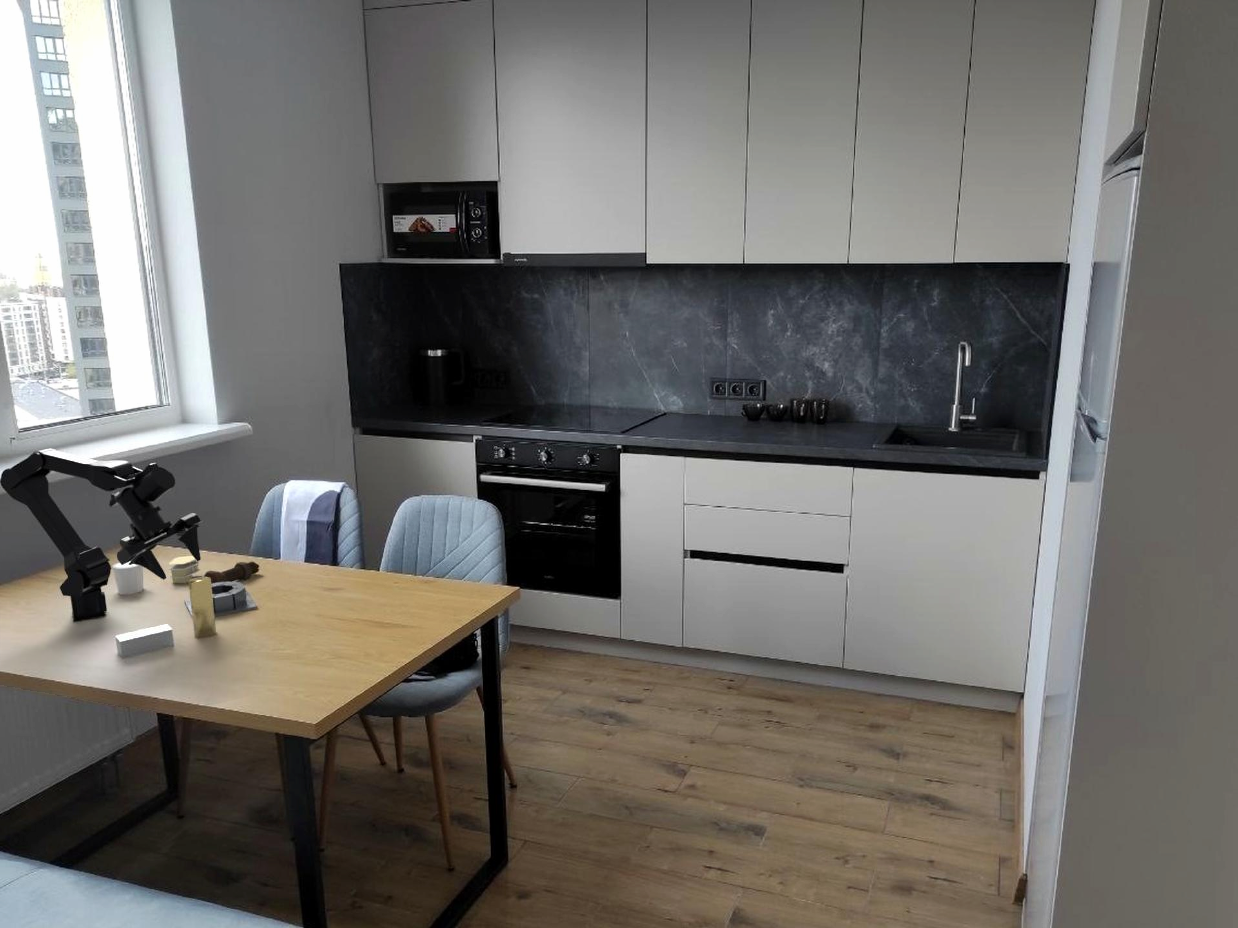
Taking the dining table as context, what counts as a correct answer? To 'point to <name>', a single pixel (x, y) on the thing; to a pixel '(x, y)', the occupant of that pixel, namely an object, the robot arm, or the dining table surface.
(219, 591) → the socket block
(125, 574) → the shot glass
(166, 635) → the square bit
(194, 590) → the pale yellow tall bar
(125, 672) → the dining table surface
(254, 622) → the dining table surface
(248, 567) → the bolt
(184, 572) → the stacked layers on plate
